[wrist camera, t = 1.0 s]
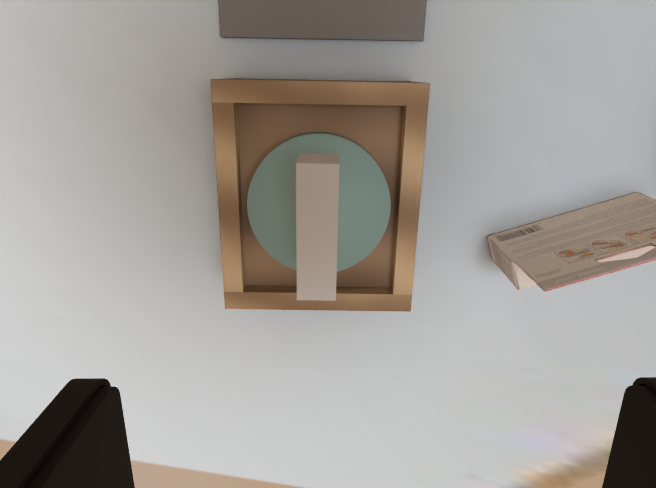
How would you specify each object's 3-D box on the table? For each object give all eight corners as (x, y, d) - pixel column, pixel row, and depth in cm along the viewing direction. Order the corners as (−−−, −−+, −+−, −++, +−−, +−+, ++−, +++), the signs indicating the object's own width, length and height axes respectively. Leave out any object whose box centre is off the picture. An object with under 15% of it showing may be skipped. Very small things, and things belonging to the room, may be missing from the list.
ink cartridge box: (639, 219, 35) (751, 272, 26) (491, 262, 36) (547, 327, 27) (636, 188, 34) (750, 231, 25) (485, 233, 35) (540, 290, 26)
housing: (231, 78, 31) (210, 79, 26) (411, 81, 32) (430, 83, 26) (241, 271, 36) (225, 308, 31) (397, 274, 36) (410, 311, 31)
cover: (248, 130, 28) (225, 146, 21) (391, 132, 28) (409, 149, 22) (253, 263, 31) (234, 311, 24) (383, 265, 31) (397, 313, 24)
